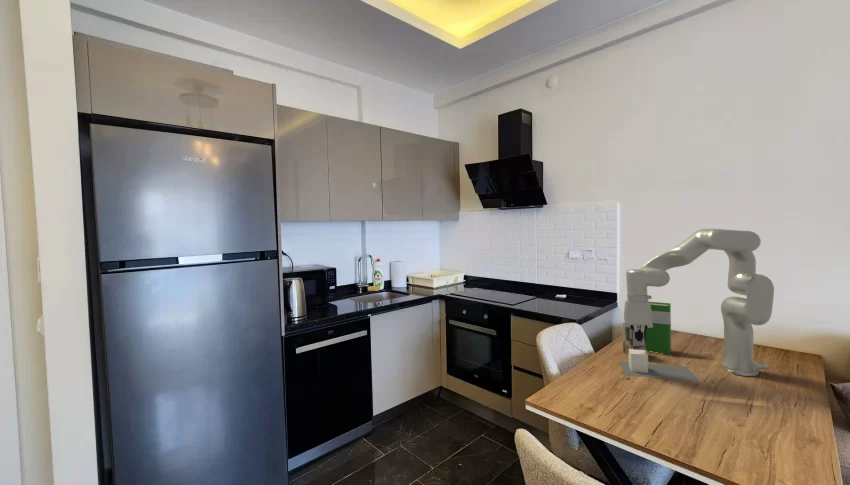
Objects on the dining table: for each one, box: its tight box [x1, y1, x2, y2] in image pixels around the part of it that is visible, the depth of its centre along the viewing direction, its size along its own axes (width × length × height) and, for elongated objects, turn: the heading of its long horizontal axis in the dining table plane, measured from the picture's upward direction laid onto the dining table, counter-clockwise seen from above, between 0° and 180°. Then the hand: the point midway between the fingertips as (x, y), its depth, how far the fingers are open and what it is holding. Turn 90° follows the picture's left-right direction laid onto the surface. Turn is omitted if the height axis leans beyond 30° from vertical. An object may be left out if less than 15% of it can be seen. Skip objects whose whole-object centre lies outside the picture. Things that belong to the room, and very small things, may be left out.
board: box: [619, 361, 701, 383], centre depth 154 cm, size 26×16×2 cm, turn 70°
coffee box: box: [622, 322, 646, 356], centre depth 173 cm, size 9×6×16 cm
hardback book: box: [646, 301, 672, 356], centre depth 183 cm, size 18×7×24 cm, turn 51°
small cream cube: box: [628, 349, 649, 373], centre depth 156 cm, size 6×6×8 cm
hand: (639, 340), depth 156 cm, fingers closed
